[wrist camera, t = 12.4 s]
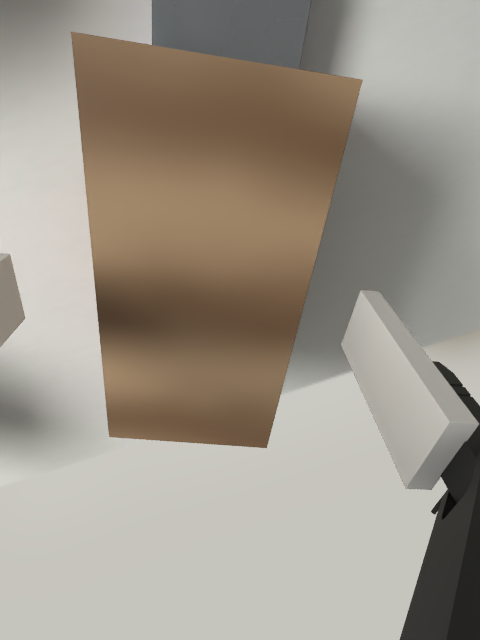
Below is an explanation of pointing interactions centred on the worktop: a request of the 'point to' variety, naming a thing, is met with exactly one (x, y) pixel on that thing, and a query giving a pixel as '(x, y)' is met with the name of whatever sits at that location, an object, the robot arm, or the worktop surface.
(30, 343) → the worktop surface
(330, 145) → the brown wooden block
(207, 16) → the mount rail
